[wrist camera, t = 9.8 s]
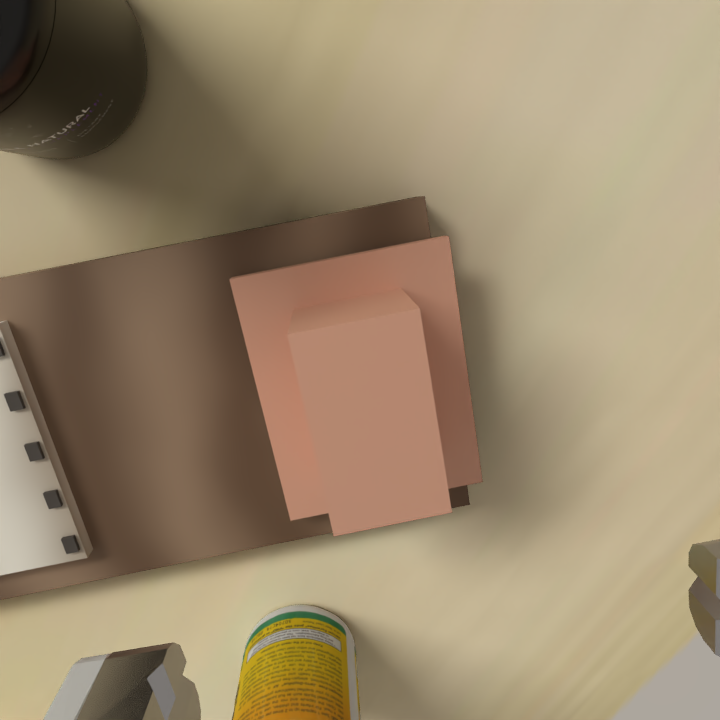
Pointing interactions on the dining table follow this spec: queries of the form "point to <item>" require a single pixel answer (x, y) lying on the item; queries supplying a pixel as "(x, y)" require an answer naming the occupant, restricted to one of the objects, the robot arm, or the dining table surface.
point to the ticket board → (151, 404)
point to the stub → (363, 383)
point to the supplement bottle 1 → (68, 75)
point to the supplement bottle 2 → (298, 668)
